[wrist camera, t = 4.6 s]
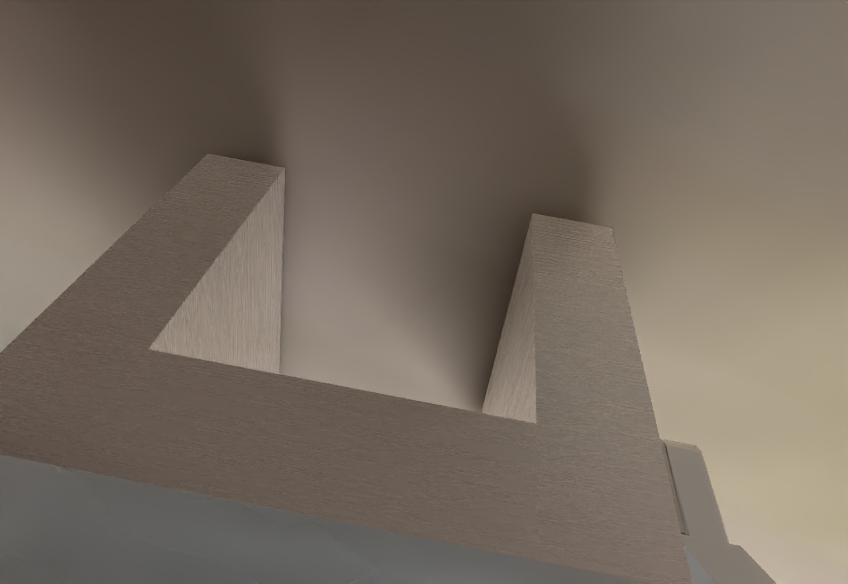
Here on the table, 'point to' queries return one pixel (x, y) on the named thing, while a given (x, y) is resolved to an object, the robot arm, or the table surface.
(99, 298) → the white hollow cube
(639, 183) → the table surface
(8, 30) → the table surface
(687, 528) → the robot arm
